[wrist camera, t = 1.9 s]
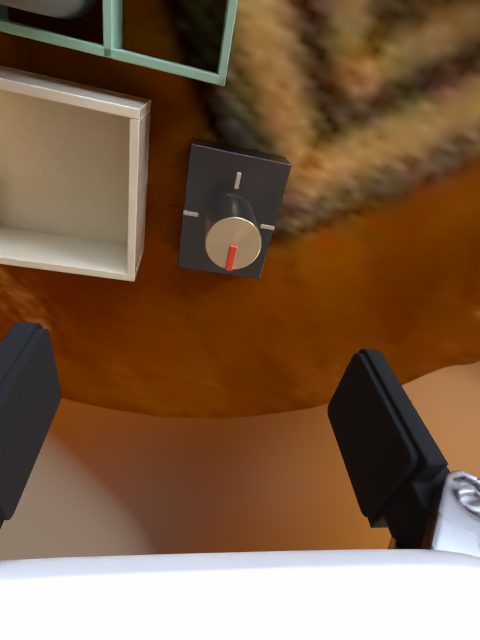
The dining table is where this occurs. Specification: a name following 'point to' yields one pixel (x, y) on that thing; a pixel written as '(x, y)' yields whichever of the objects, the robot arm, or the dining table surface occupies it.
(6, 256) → the white storage tray
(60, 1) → the bottle
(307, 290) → the dining table surface
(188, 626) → the robot arm
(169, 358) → the dining table surface
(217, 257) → the dial knob
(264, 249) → the dial faceplate
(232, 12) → the green divided open-frame rack
